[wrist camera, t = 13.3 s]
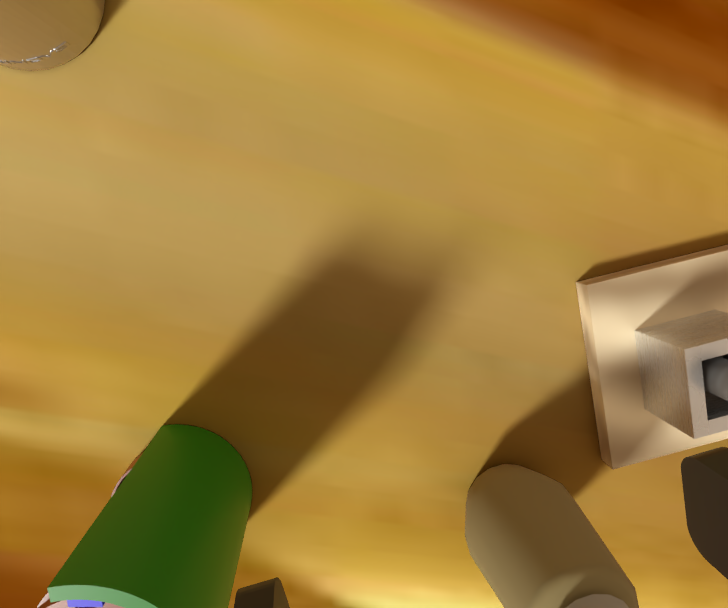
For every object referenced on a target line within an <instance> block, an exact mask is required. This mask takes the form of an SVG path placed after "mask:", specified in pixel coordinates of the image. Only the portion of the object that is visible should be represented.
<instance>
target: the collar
mask: <svg viewBox="0 0 728 608" xmlns="http://www.w3.org/2000/svg"><path fill="white" fill-rule="evenodd" d="M634 332H635V339H636V347H637V355H638V362H639V370H640V378H641V385H642V393H643V401H644V409H645V410H647V411H649V412H650V413H652V414H653V415H655V416H657V417H658V418H660V419H662V420H663V421H665V422H667V423H668V424H670V425H672V426H673V427H675V428H677V429H678V430H680V431H682V432H683V433H685V434H687V435H688V436H690V437H691V438H693V439H697V438H701V437H704V436H708V435H712V434H715V433H719V432H722V431H726V430H728V401H726V400H724V399H722V398H720V397H718V396H716V395H714V394H711V393H709V392H707V391H705V390H704V380H703V371H702V361H703V360H707V359H710V358H714V357H718V356H720V357H722V358H725V359H728V313H726V312H722V311H718V310H711V311H707V312H703V313H699V314H696V315H692V316H688V317H684V318H680V319H676V320H672V321H669V322H665V323H661V324H657V325H653V326H649V327H645V328H642V329H638V330H634Z"/></svg>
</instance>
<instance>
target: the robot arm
mask: <svg viewBox="0 0 728 608" xmlns="http://www.w3.org/2000/svg"><path fill="white" fill-rule="evenodd" d="M104 4H105V0H0V64H1V65H4V66H7V67H10V68H13V69H20V70H28V71H36V70H46V69H51V68H54V67H57V66H60V65H63V64H65V63H67V62H68V61H70V60H72V59H73V58H75V57H77V56H78V55H79V54H80V53H81V52H82V51H83V50H84V49H85V48H86V47H87V46H88V45H89V44H90V43H91V41H92V39H93V38H94V36H95V34H96V33H97V31H98V29H99V26H100V23H101V20H102V17H103V14H104ZM681 473H682V482H683V491H684V500H685V509H686V518H687V526H688V530H689V533H690V536H691V538H692V540H693V542H694V544H695V546H696V547H697V549H698V550H699V552H700V553H701V554H702V556H703V557H704V558H705V559H706V560H707V561H708V562H709V563H710V564H711V565H712V566H714V567H715V568H716V569H717V570H718V571H719V572H720V573H721V574H722V575H724V576H725V577H726V578H727V579H728V448H726V447H720V448H716V449H713V450H709V451H706V452H703V453H699V454H696V455H693V456H689V457H686V458H684V459H683V461H682V463H681ZM234 608H290V607H289V604H288V601H287V598H286V595H285V592H284V589H283V586H282V583H281V581H280V579H279V578H274V579H270V580H267V581H264V582H260V583H257V584H254V585H250V586H247V587H243V588H240V589H238V591H237V593H236V598H235V604H234Z"/></svg>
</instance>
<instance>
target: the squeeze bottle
mask: <svg viewBox="0 0 728 608" xmlns="http://www.w3.org/2000/svg"><path fill="white" fill-rule="evenodd" d="M465 537H466V541H467V545H468V548H469V552H470V555H471V557H472V558H473V560H474V561H475V563H476V564H477V566H478V568H479V569H480V571H481V572H482V574H483V575H484V577H485V578H486V580H487V581H488V583H489V585H490V586H491V588H492V589H493V591H494V592H495V594H496V595H497V597H498V599H499V600H500V602H501V603H502V605H503V606H504V608H639V605H638V600H637V596H636V591H635V587H634V586H633V585H632V583H631V582H630V580H629V579H628V577H627V576H626V574H625V573H624V571H623V570H622V568H621V567H620V566H619V564H618V563H617V561H616V560H615V558H614V557H613V555H612V554H611V552H610V551H609V550H608V548H607V547H606V545H605V544H604V542H603V541H602V539H601V538H600V536H599V535H598V533H597V532H596V531H595V529H594V528H593V526H592V525H591V523H590V522H589V520H588V519H587V517H586V516H585V515H584V513H583V512H582V510H581V509H580V507H579V506H578V504H577V503H576V501H575V500H574V499H573V497H572V496H571V495H570V494H569V492H568V491H567V490H566V488H565V487H564V486H563V485H562V484H561V483H559V482H557V481H555V480H553V479H551V478H549V477H547V476H545V475H543V474H541V473H538V472H535V471H533V470H530V469H527V468H525V467H522V466H520V465H513V464H501V465H498V466H495V467H492V468H489V469H487V470H486V471H485V472H483V473H482V474H481V475H480V476H478V477H477V478H476V479H475V481H474V482H473V484H472V486H471V487H470V489H469V491H468V496H467V502H466V520H465Z"/></svg>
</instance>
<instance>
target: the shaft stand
mask: <svg viewBox="0 0 728 608" xmlns="http://www.w3.org/2000/svg"><path fill="white" fill-rule="evenodd" d="M576 287H577V294H578V300H579V307H580V314H581V321H582V328H583V335H584V342H585V348H586V355H587V362H588V369H589V376H590V383H591V390H592V396H593V403H594V410H595V417H596V424H597V431H598V438H599V444H600V451H601V458H602V460H603V461H604V462H605V463H606V464H607V465H608V466H610V467H611V468H612V469H616V468H620V467H624V466H627V465H631V464H635V463H638V462H642V461H646V460H650V459H653V458H657V457H661V456H664V455H668V454H672V453H675V452H679V451H683V450H687V449H690V448H694V447H698V446H701V445H705V444H709V443H712V442H716V441H720V440H724V439H727V438H728V430H726V431H722V432H719V433H715V434H712V435H708V436H704V437H701V438H697V439H693V438H691V437H690V436H688V435H687V434H685V433H683V432H682V431H680V430H678V429H677V428H675V427H673V426H672V425H670V424H668V423H667V422H665V421H663V420H662V419H660V418H658V417H657V416H655V415H653V414H652V413H650V412H649V411H647V410H645V409H644V401H643V393H642V385H641V378H640V370H639V362H638V355H637V347H636V339H635V332H634V330H638V329H642V328H645V327H649V326H653V325H657V324H661V323H665V322H669V321H672V320H676V319H680V318H684V317H688V316H692V315H696V314H699V313H703V312H707V311H711V310H718V311H722V312H726V313H728V245H724V246H720V247H716V248H711V249H707V250H703V251H699V252H695V253H691V254H687V255H683V256H679V257H675V258H671V259H667V260H663V261H659V262H655V263H651V264H647V265H643V266H639V267H635V268H631V269H627V270H623V271H619V272H615V273H610V274H606V275H602V276H598V277H594V278H590V279H586V280H582V281H578V282H576ZM702 371H703V380H704V390H705V391H707V392H709V393H711V394H714V395H716V396H718V397H720V398H722V399H724V400H726V401H728V359H725V358H722V357H720V356H718V357H714V358H710V359H707V360H703V361H702Z"/></svg>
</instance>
